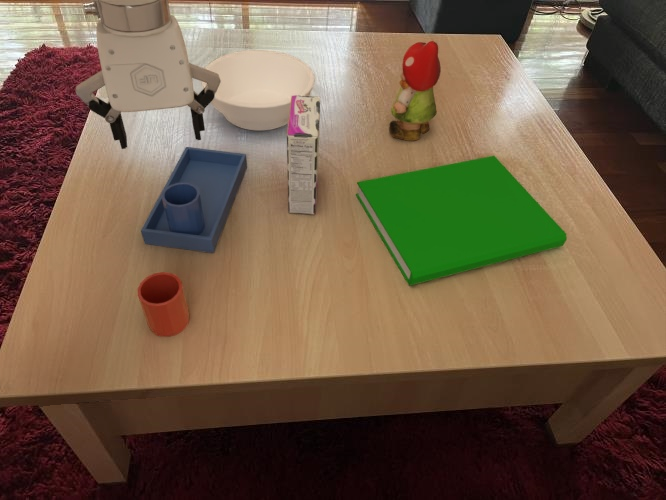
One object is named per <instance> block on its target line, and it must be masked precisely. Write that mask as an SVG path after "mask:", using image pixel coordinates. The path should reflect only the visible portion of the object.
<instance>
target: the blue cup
mask: <svg viewBox="0 0 666 500" xmlns="http://www.w3.org/2000/svg"><path fill="white" fill-rule="evenodd" d="M162 201H163V205H164V209H165V213H166V217H167V222H168V226H169V229H170V232H176V233H183V234H191V235H200V234H201V233H202V232H203V230H204V228H205V222H204V216H203V210H202V204H201V198H200V192H199V189H198V188H197V187H196V186H195V185H193V184H191V183H185V182H182V183H175V184H173V185H170V186H168V187H167V188H166V189H165V190H164V191H163V193H162Z"/></svg>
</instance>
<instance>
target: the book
mask: <svg viewBox="0 0 666 500" xmlns="http://www.w3.org/2000/svg"><path fill="white" fill-rule="evenodd" d="M356 184H357V186H358V192H356V193H355V197H356V198H357V200H358V201H359V203H360V205H361V206H362V208H363V210H364V212H365V213H366V215H367V217H368V219H369V220H370V222H371V224H372V225H373V227H374V228H375V230H376V232H377V234H378V236H379V238H380V239H381V240H382V242H383V244H384V246H385V247H386V249H387V251H388V253H389V254H390V256H391V257H392V259H393V260H394V262H395V265H396V266H397V268H398V269H399V271H400V273H401V274H402V276H403V278H404V280H405V281H406V283H407V285H408V286H412V285H416V284H421V283H425V282H428V281H432V280H436V279H440V278H444V277H448V276H451V275H455V274H456V275H457V274H459V273H463V272H468V271H470V270H474V269H475V270H476V269H478V268H483V267H487V266H490V265H494V264H498V263H501V262H505V261H506V262H507V261H509V260H510V261H511V260H514V259H517V258H522V257H525V256H529V255H532V254H537V253H540V252H541V253H542V252H544V251H547V250H548V251H549V250H551V249H555V248H556V249H557V248H560V247H563V246H564V245H565V243H566V242H567V237H568V236H567V232H566V231H565V230H564V229H563V228H562V227H561V226H560V225H559V224H558V223H557V222H556V221H555V220H554V218H552V217H551V216H550V214H549V212H547V211H546V210H545V209H544V208H543V207H542V205H540V203H539V202H538V201H537V200H536V198H534V197H533V196H532V195H531V194H530V193H529V191H528V190H527V189H526V187H524V186H523V185H522V184H521V183H520V182H519V181H518V179H517V178H516V177H515V176H514V175H513V174H512V173H511V172H510V171H509V170H508V169H507V167H506V166H505V165H504V164H503V163H502V161H500V160H499V159H498V158H497V157H496V155H490V156H485V157H480V158H473V159H470V160H464V161H459V162H453V163H449V164H444V165H438V166H433V167H428V168H423V169H417V170H412V171H407V172H402V173H397V174H392V175H385V176H380V177H376V178H375V177H374V178H371V179H364V180H360V181H357V182H356Z"/></svg>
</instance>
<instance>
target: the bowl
mask: <svg viewBox="0 0 666 500" xmlns="http://www.w3.org/2000/svg"><path fill="white" fill-rule="evenodd" d="M204 69H207V70H209V71H212V72H215V73H217V74H218V75H219V77H220V80H221V82H220V85H219V87H218V89H217V91H216V93H215V95H214V96H215V97H214V99H213V100H212V101H211V102H210V104H211V105H212V106H213V108H214V109H216V111H218V112H219V113H220V114H222V115H223V116H224V118H225V119H226V120H227V121H228V123H230V124H231V125H234V126H236V127H238V128H240V129H245V130H249V131H270V130H271V131H272V130H275V129H278V128H281V127H284V126H285V125H288V121H289V114H290V105H291V97H292V96H295V95H299V96H309V97H310V95H311V93H312V91H313V88H314V86H315V82H316V80H315V79H316V78H315V74H314V71H313V70H312V68H311V67H310V66H309V65H308V64H307V63H306V62H304V60H302V59H300V58H298V57H295V56H293V55H291V54H287V53H284V52H279V51H276V50H266V49H250V50H249V49H247V50H241V51H235V52H230V53H227V54H224V55H222V56H220V57H217V58H216V59H214V60H212V61H210V62H209V63H208V64H207V65H206V66H205V67H204ZM200 83H201V87H202V88H203V89H204V88H205V87H206V84H207V83H205V82H203V81H200Z"/></svg>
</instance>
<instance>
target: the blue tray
mask: <svg viewBox="0 0 666 500" xmlns="http://www.w3.org/2000/svg"><path fill="white" fill-rule="evenodd" d="M247 161H248V160H247V153H241V152H231V151H225V150H224V151H223V150H214V149H208V148H199V147H193V146H192V147H191V146H185V148H184V149H183V151H182V153H181V154H180V157H179V159H178V161H177V163H176V165H175V166H174V168H173V170H172V172H171V174H170V175H169V177H168V178H167V181H166V183H165V184H164V186H163V189H162V191H161V192H160V194H159V196H158V198H157V200H156V201H155V204H154V205H153V207H152V209H151V211H150V212H149V215H148V216H147V218H146V219H145V221H144V224H143V226H141V227H142V228H141V229H140V233H141V236H142V240H143V243H144V245H148V246H149V245H150V246H157V247H165V248H172V249H178V250H179V249H180V250H187V251H195V252H203V253H209V254H215V252H216V249H217V246H218V244H219V241H220V238H221V236H222V233H223V231H224V228H225V225H226V223H227V220H228V218H229V216H230V212H231V209H232V207H233V205H234V202H235V199H236V197H237V194H238V192H239V189H240V187H241V184H242V181H243V179H244V176H245V174H246V171H247V169H248V162H247ZM182 182H185V183H191V184H193V185H195V186H196V187H197V188H198V189H199V192H200V198H201V204H202V210H203V216H204V222H205V228H204V230H203V232H202V233H201V234H200V235H191V234H183V233H176V232H170V229H169V226H168V222H167V217H166V213H165V209H164V205H163V201H162V193H163V191H164V190H165V189H166V188H167V187H168V186H170V185H173V184H175V183H182Z"/></svg>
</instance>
